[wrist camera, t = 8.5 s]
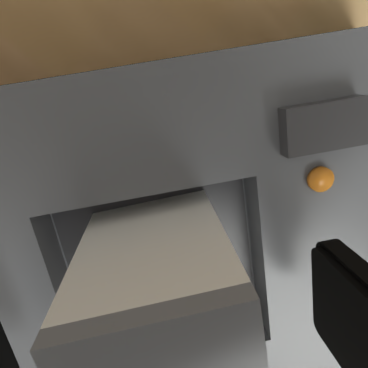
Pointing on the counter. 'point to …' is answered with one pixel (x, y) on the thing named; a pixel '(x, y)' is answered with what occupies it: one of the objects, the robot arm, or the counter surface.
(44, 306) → the socket plate
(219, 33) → the counter surface
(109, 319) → the plug
